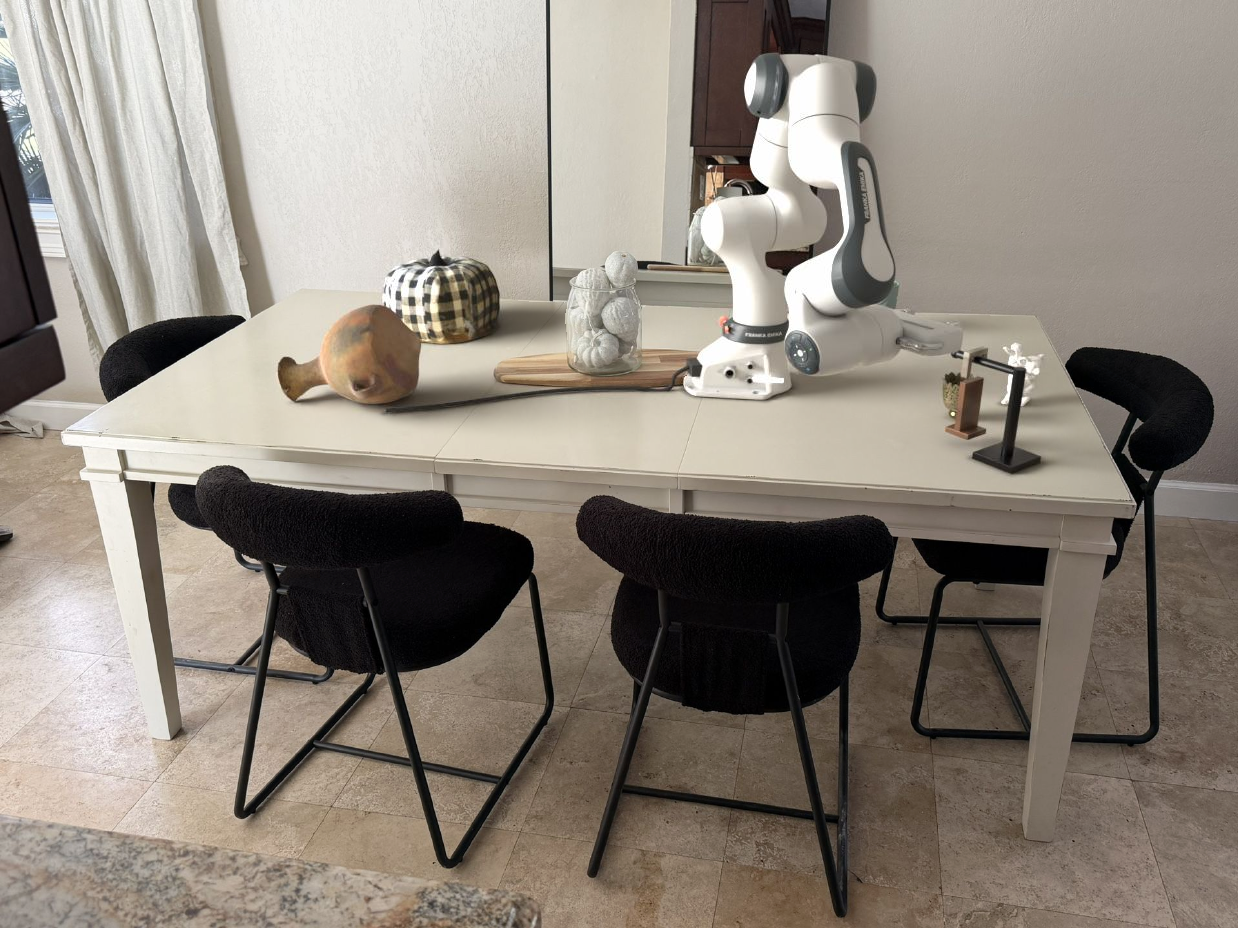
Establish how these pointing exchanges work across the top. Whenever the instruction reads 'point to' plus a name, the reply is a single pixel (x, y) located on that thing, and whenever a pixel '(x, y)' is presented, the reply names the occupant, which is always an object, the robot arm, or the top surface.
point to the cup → (952, 391)
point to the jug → (359, 359)
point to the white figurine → (1033, 369)
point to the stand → (1006, 452)
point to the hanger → (969, 400)
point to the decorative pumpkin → (444, 298)
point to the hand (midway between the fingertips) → (934, 320)
